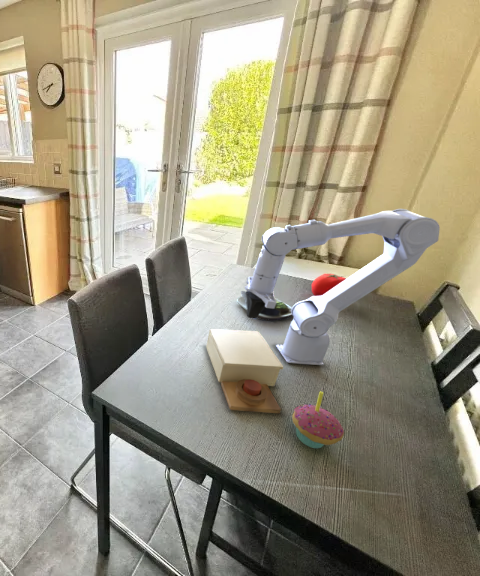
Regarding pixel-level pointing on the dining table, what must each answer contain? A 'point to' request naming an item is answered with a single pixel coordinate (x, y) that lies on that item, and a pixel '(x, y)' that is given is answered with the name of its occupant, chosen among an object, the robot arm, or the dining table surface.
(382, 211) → the robot arm
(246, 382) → the button
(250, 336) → the lid
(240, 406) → the wooden base board
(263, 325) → the dining table surface
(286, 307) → the salad plate
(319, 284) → the tomato
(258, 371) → the bin
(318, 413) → the cupcake
